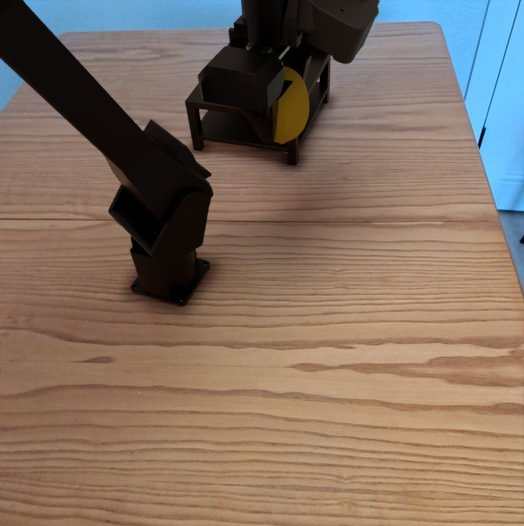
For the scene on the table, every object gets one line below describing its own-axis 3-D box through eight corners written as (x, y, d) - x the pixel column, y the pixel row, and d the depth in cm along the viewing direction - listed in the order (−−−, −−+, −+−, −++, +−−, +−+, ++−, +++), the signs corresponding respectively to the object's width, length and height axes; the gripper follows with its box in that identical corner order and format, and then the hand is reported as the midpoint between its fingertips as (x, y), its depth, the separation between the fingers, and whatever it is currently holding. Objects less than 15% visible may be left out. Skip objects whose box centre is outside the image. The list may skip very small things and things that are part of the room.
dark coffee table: (296, 166, 71) (295, 102, 65) (193, 150, 75) (182, 88, 68) (329, 98, 80) (331, 36, 74) (236, 87, 84) (230, 27, 77)
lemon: (247, 137, 60) (239, 60, 53) (295, 122, 61) (293, 45, 54) (268, 165, 57) (263, 87, 50) (318, 149, 58) (319, 71, 51)
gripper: (326, 9, 38) (322, 201, 50) (407, -89, 47) (387, 92, 60) (179, -10, 41) (210, 174, 53) (283, -98, 51) (288, 75, 63)
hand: (280, 126), depth 57 cm, fingers closed on lemon, 5 cm apart
